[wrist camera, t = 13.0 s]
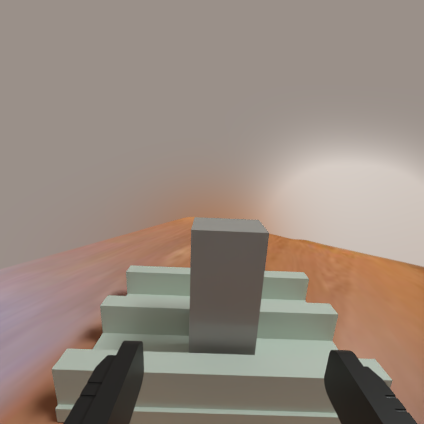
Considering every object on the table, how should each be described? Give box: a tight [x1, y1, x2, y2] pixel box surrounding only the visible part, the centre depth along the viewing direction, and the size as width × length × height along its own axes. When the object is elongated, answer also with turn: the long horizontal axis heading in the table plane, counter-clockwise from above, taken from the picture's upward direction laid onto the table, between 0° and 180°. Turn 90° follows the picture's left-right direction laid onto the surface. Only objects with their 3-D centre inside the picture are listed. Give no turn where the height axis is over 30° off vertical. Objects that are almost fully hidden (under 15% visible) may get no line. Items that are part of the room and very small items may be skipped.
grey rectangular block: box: [189, 217, 269, 355], centre depth 16 cm, size 5×3×12 cm, turn 90°
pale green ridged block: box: [52, 266, 393, 424], centre depth 21 cm, size 22×14×4 cm, turn 90°
